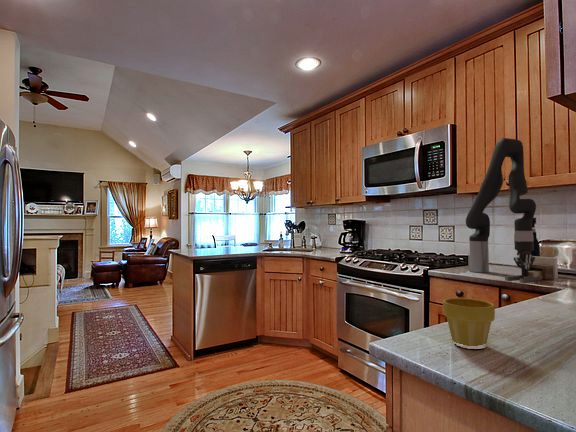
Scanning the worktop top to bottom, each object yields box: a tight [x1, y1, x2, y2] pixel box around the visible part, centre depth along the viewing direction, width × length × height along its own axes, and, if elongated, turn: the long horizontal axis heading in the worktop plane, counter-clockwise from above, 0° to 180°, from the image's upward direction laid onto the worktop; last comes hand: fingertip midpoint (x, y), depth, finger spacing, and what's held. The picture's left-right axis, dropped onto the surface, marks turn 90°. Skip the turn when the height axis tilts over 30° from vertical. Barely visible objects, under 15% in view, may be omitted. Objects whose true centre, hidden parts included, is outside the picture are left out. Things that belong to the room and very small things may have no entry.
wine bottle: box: [531, 217, 541, 257], centre depth 179 cm, size 6×6×30 cm
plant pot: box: [442, 297, 496, 346], centre depth 77 cm, size 10×10×10 cm
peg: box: [524, 270, 544, 281], centre depth 164 cm, size 12×4×4 cm, turn 113°
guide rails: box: [504, 274, 541, 284], centre depth 160 cm, size 8×14×2 cm, turn 114°
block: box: [528, 264, 553, 280], centre depth 166 cm, size 9×6×6 cm, turn 24°
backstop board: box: [533, 256, 559, 280], centre depth 170 cm, size 14×2×10 cm, turn 24°
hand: (525, 276), depth 161 cm, fingers closed
